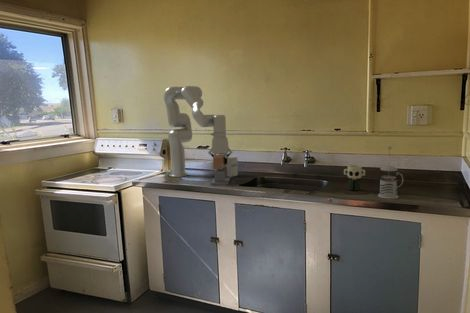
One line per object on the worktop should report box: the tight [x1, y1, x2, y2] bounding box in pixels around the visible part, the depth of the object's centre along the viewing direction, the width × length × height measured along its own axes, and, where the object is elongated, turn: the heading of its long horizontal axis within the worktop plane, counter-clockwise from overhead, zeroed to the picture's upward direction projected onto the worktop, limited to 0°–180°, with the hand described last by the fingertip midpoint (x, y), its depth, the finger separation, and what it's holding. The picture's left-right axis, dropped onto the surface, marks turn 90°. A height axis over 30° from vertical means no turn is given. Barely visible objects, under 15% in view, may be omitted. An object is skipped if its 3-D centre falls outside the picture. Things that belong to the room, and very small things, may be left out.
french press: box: [377, 145, 404, 199], centre depth 186 cm, size 10×12×25 cm
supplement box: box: [226, 156, 239, 178], centre depth 253 cm, size 7×7×13 cm
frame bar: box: [212, 153, 229, 170], centre depth 234 cm, size 5×18×7 cm, turn 169°
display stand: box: [210, 166, 232, 186], centre depth 235 cm, size 10×22×8 cm, turn 176°
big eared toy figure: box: [343, 164, 366, 191], centre depth 203 cm, size 11×7×13 cm, turn 69°
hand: (220, 164), depth 234 cm, fingers closed on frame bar, 5 cm apart
